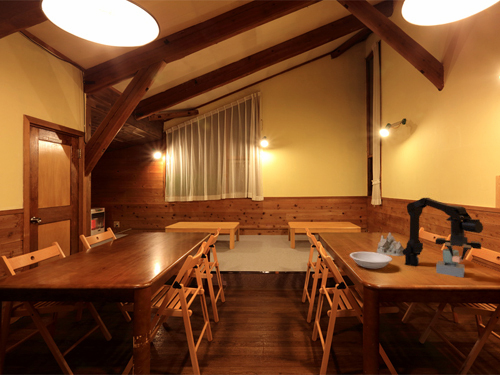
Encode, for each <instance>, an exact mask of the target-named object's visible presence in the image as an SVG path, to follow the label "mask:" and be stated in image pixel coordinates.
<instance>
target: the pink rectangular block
mask: <svg viewBox="0 0 500 375" xmlns="http://www.w3.org/2000/svg"><path fill="white" fill-rule="evenodd" d="M452 261H454V262H459V263H458V264H461V263H462V262H464V259H463V260H462V255H459V256H458V255H455V256H453V257H452Z"/></svg>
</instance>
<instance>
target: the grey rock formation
mask: <svg viewBox="0 0 500 375" xmlns="http://www.w3.org/2000/svg"><path fill="white" fill-rule="evenodd" d="M380 236H381V237H380V241H379V242H378V243H377V249H376V253H381V254H385V255H388V256H394V257H395V256H396V257H400V256H401V257H403V256H404V257H405V255H404V254H403V252H402V251H403V250H404V249H405V248H404V247H403V245H402V243H401V241H396V239H395V237H394V235H392V233H391V232H388V235H386V238H385V237H384V236H385V235H380Z"/></svg>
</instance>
